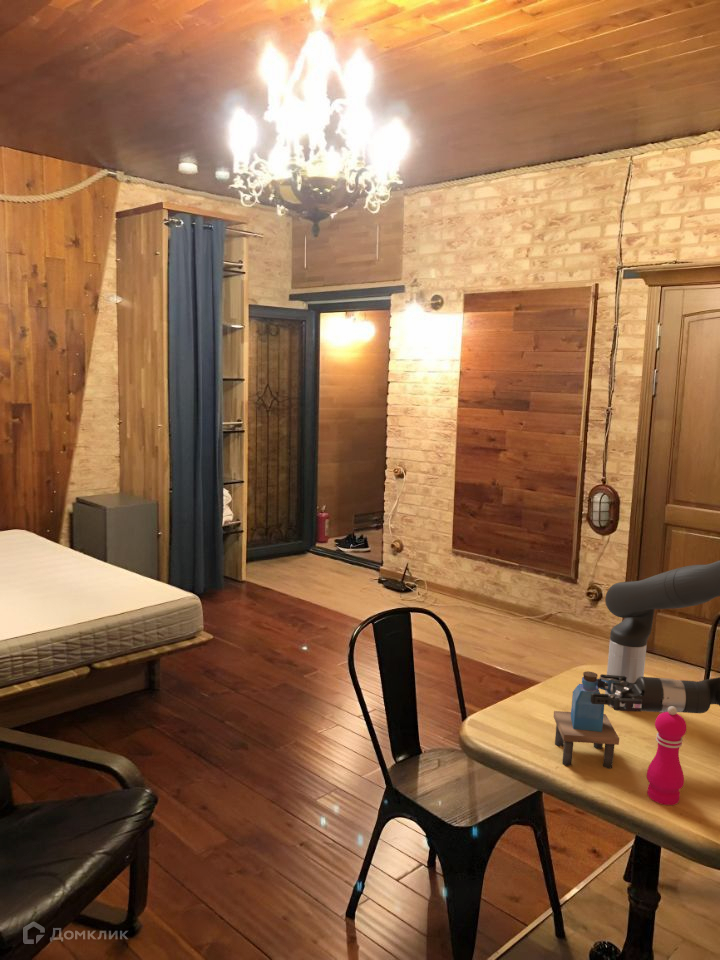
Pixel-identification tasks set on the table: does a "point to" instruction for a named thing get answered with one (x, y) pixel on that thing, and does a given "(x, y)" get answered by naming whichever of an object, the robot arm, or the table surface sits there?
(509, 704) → the table surface
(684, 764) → the table surface
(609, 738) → the brown legged piece
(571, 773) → the table surface
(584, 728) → the perfume bottle
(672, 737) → the pepper mill
